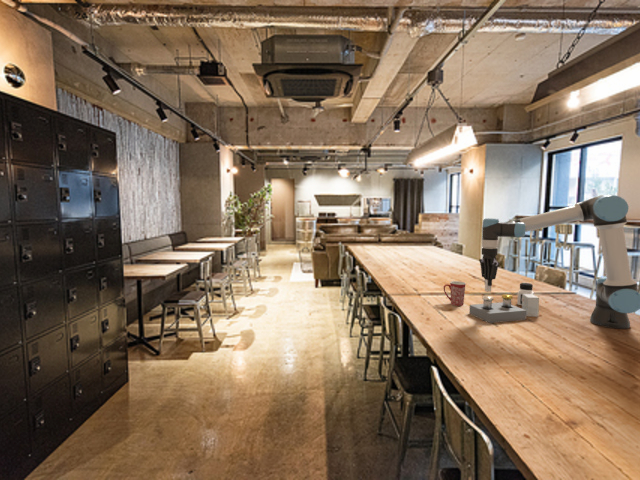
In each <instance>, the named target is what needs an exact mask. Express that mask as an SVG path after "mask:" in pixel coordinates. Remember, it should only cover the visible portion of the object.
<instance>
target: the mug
mask: <svg viewBox="0 0 640 480" xmlns="http://www.w3.org/2000/svg"><path fill="white" fill-rule="evenodd" d="M449 283H450V284H448V283H447V284H444V286H443V292H444V294H445V296H446V297H447V298H448V300H449V301H450V304H451V305H452V306H456V307H457V306H458V307H460V306H464V303H465V293H466V284H467V283H466V282H464V281H458V280H455V281H454V280H453V281H449ZM446 287H448V288H449V290H450V296H449V295H448V294H447V291H446Z"/></svg>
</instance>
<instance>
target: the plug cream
mask: <svg viewBox="0 0 640 480" xmlns="http://www.w3.org/2000/svg"><path fill="white" fill-rule="evenodd" d="M482 300H483V301H482V302H483V303H482V304H483V309H486V310H492V303H493V301H494V296H491V295H483V296H482Z"/></svg>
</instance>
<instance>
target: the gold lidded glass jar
mask: <svg viewBox="0 0 640 480" xmlns="http://www.w3.org/2000/svg"><path fill="white" fill-rule="evenodd" d="M513 298H514V296H513V295H512V294H506V293H505V294H501V299H502V302H503V307H504V308H511V305H512V300H513Z"/></svg>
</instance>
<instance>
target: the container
mask: <svg viewBox="0 0 640 480" xmlns="http://www.w3.org/2000/svg"><path fill="white" fill-rule="evenodd" d="M522 294H533V295H535V292H534V291H533V284H532V283H530V282H521V283H520V284H519V290H518V292H517V302H516V303H517V305H518V306H522Z"/></svg>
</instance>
